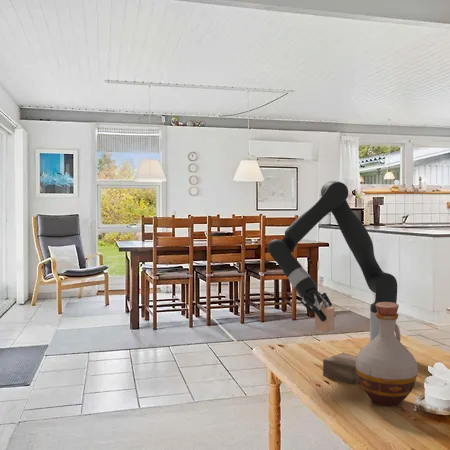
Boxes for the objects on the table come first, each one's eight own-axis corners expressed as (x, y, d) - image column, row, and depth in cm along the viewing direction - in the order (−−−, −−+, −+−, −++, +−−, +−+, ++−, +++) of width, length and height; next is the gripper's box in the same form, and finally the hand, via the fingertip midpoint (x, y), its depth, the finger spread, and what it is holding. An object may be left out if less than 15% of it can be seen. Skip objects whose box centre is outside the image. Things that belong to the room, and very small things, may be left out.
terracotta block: (322, 327, 179) (322, 305, 179) (334, 329, 176) (334, 307, 175) (315, 329, 176) (315, 307, 175) (326, 332, 172) (326, 309, 172)
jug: (371, 385, 160) (372, 295, 159) (426, 398, 149) (428, 302, 148) (345, 403, 145) (346, 304, 144) (404, 419, 134) (406, 312, 133)
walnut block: (342, 368, 178) (342, 352, 177) (371, 377, 169) (372, 360, 169) (323, 376, 170) (323, 359, 169) (352, 385, 161) (352, 367, 160)
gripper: (296, 278, 175) (324, 316, 167) (319, 274, 185) (346, 310, 177) (285, 290, 179) (311, 328, 171) (307, 286, 189) (333, 321, 181)
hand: (329, 318), depth 174 cm, fingers closed on terracotta block, 5 cm apart
